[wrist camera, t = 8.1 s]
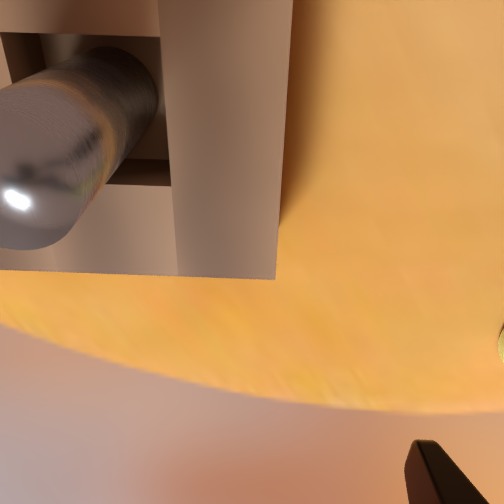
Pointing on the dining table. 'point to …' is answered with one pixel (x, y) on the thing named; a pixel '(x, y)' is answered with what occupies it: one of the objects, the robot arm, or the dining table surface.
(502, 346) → the tube
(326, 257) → the dining table surface
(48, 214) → the pin
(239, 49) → the bore block
